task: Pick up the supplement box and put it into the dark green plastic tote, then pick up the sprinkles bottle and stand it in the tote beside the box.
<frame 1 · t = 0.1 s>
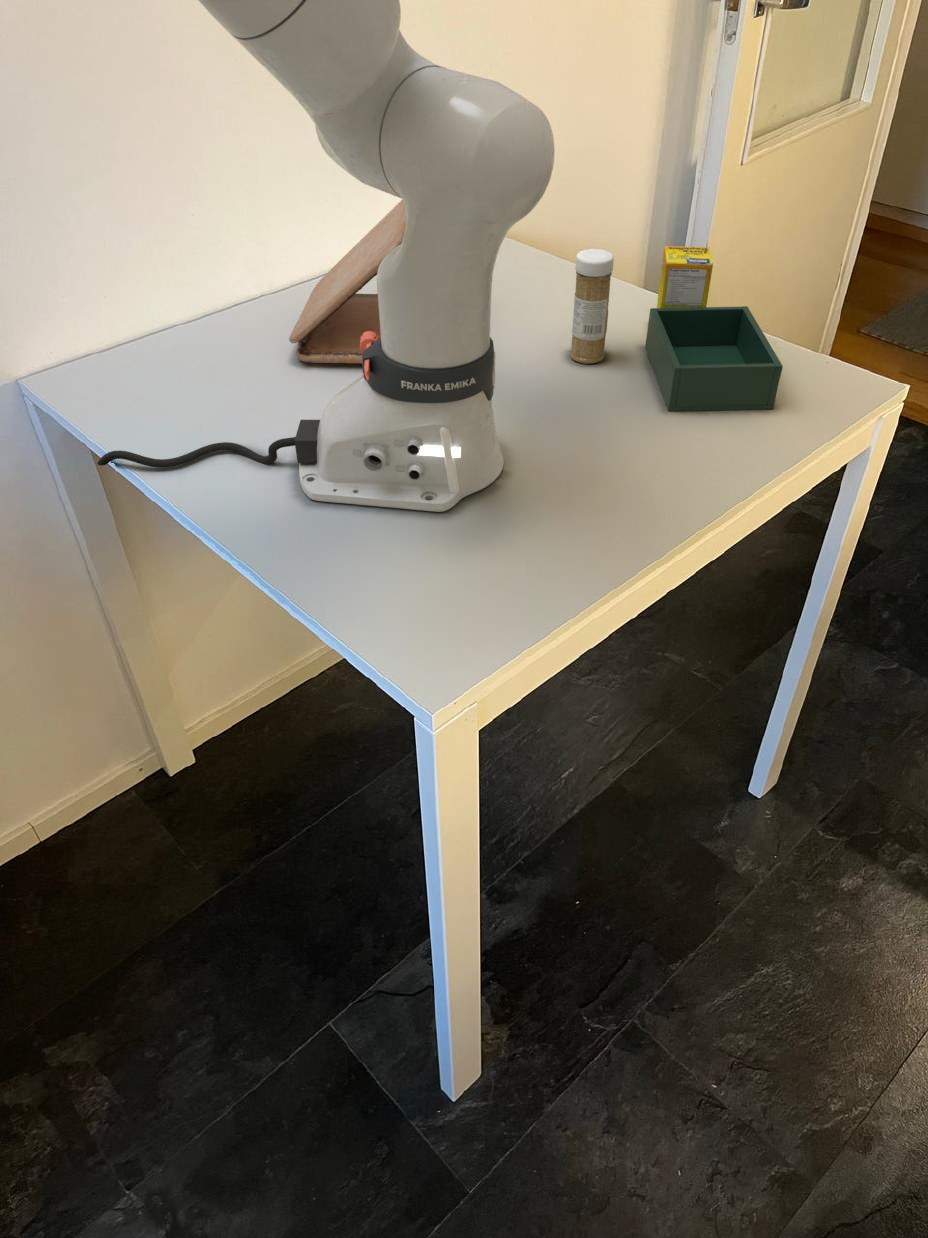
sprinkles bottle: (586, 358, 125), on the table
case: (379, 335, 131), on the table
supplement box: (676, 335, 130), on the table
tote: (705, 377, 121), on the table
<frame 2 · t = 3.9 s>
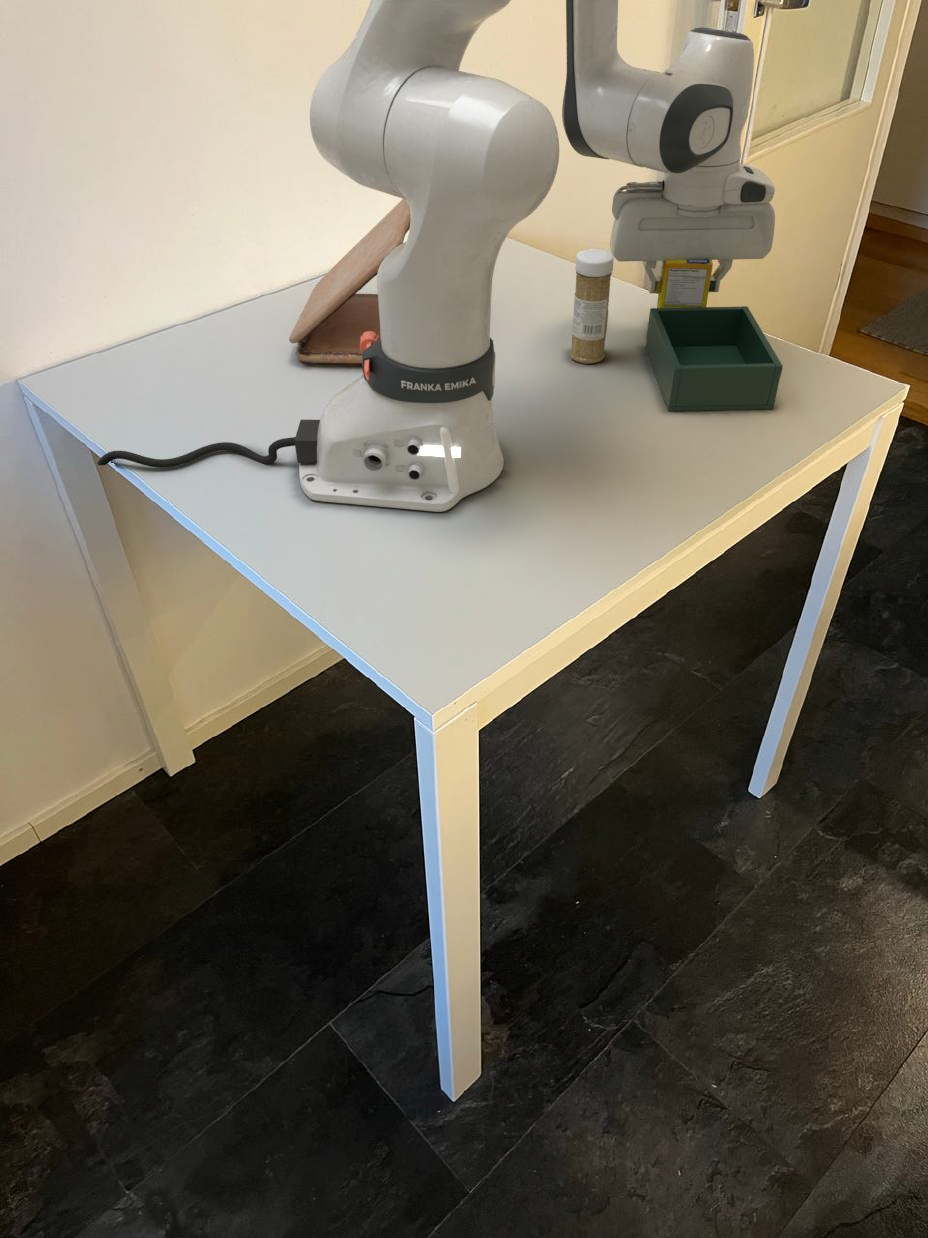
hand: (683, 291, 126), 6 cm above the table, tool pointing down, fingers closed on supplement box, 6 cm apart
supplement box: (676, 335, 130), on the table, touching gripper
everything else where it was.
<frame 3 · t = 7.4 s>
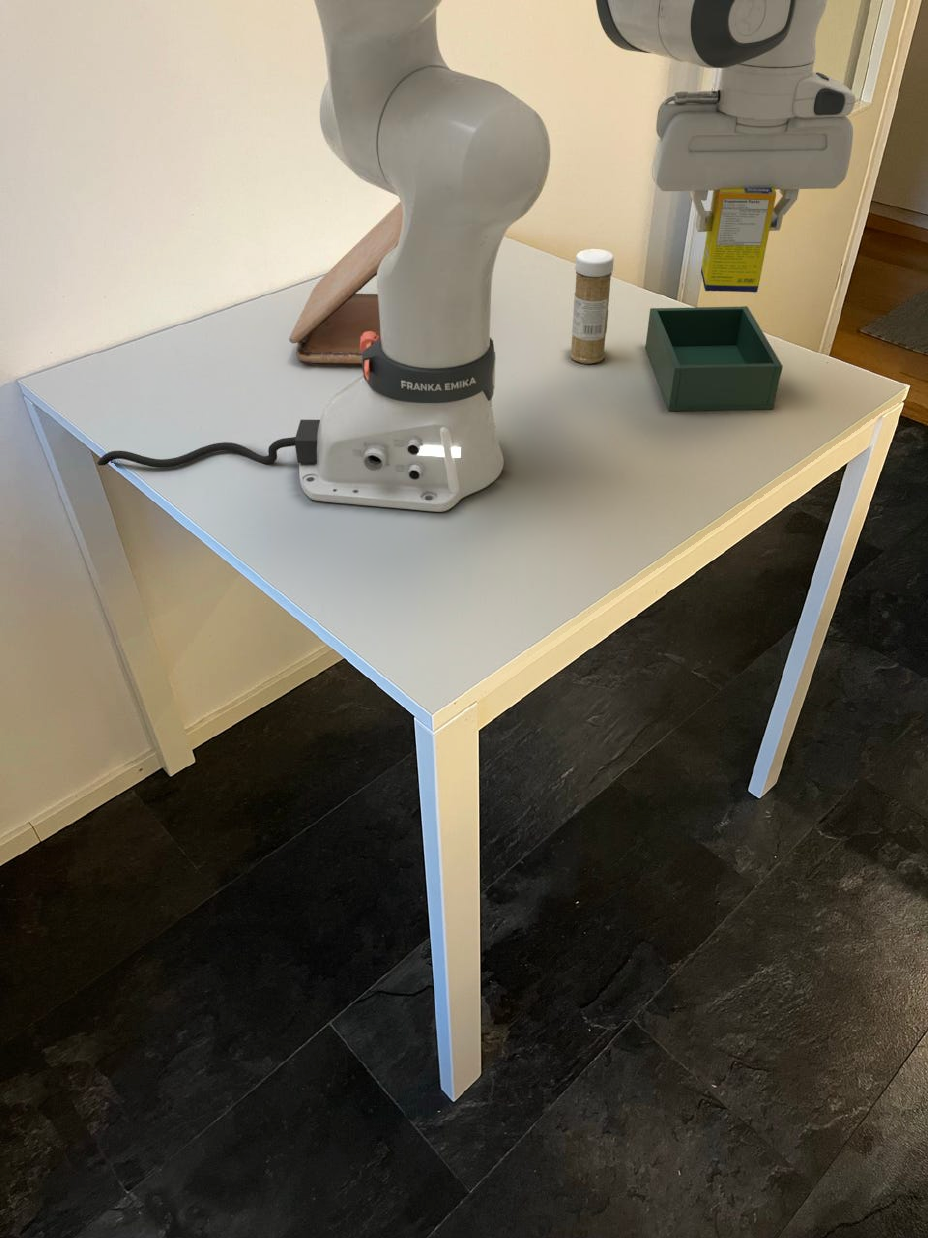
hand: (737, 229, 106), 19 cm above the table, tool pointing down, fingers closed on supplement box, 6 cm apart
supplement box: (727, 284, 110), point 13 cm above the table, touching gripper
everything else where it was.
when the fingers open (6 cm above the table, at t = 10.8 s): supplement box stays where it is, resting on tote.
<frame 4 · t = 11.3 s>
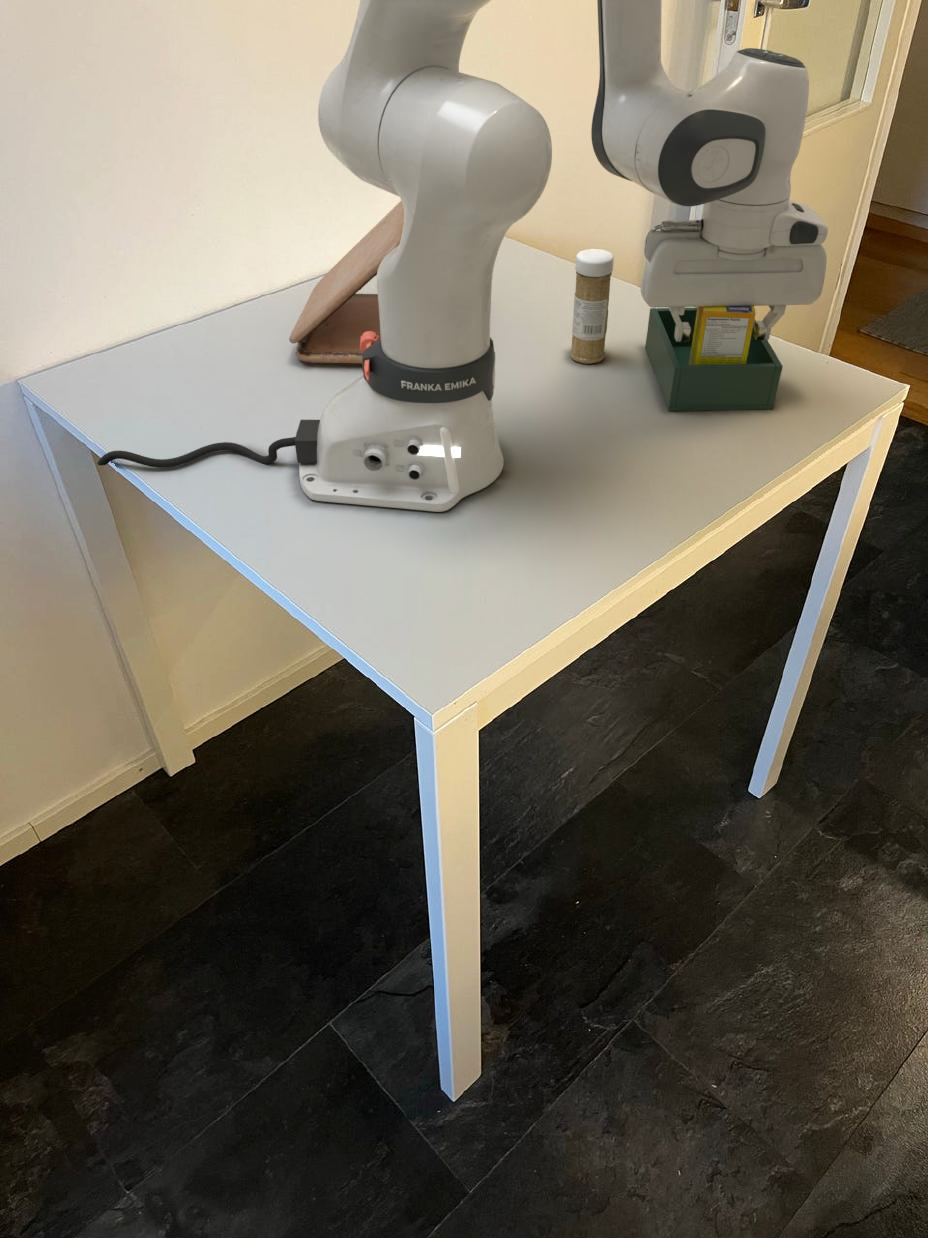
hand: (721, 338, 114), 7 cm above the table, tool pointing down, fingers open, 8 cm apart
supplement box: (712, 387, 118), resting on tote
everything else where it was.
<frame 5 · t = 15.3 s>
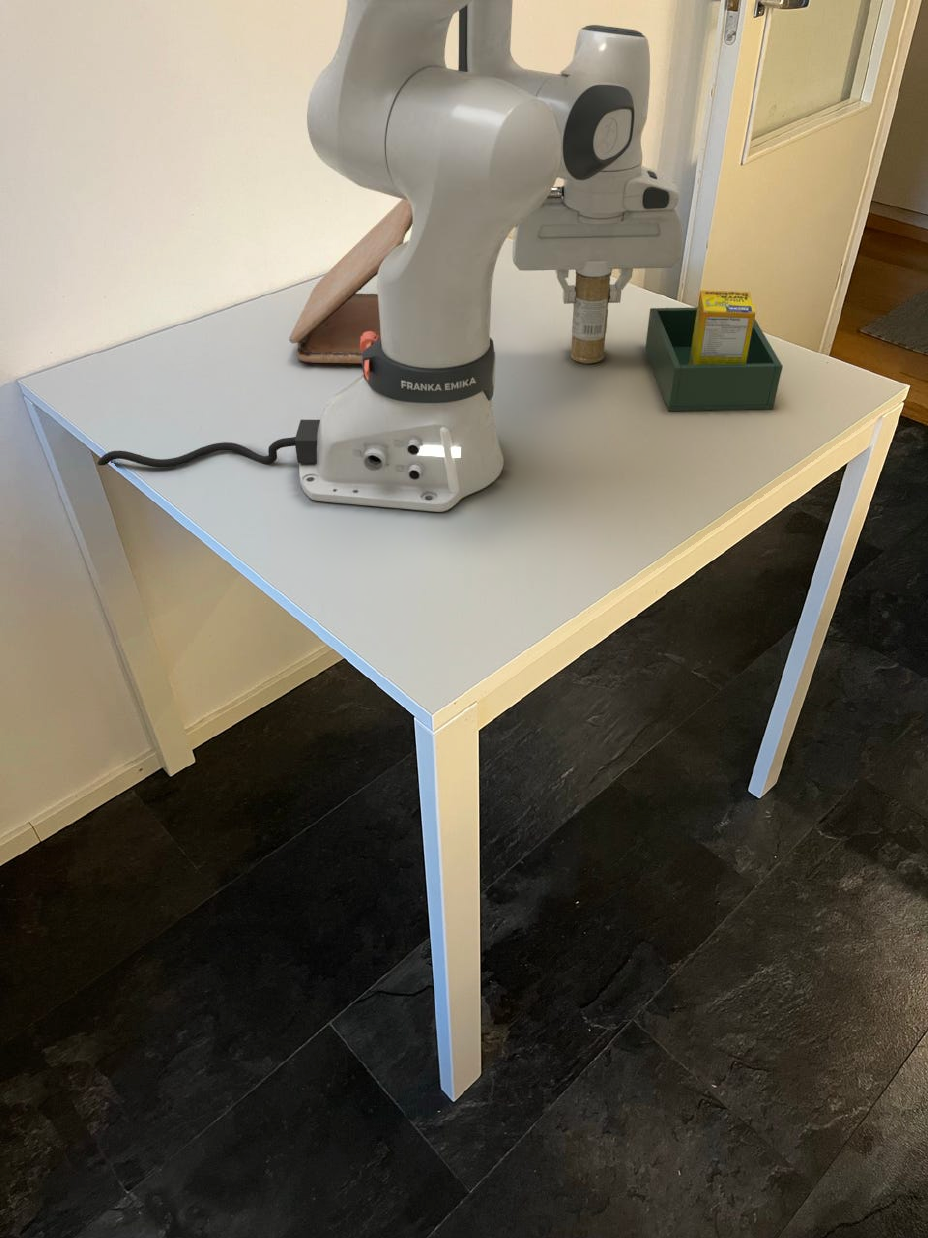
hand: (591, 301, 120), 8 cm above the table, tool pointing down, fingers closed on sprinkles bottle, 4 cm apart
sprinkles bottle: (586, 358, 125), on the table, touching gripper
everything else where it was.
when the fingers open (8 cm above the table, at t = 22.6 s): sprinkles bottle stays where it is, resting on tote.
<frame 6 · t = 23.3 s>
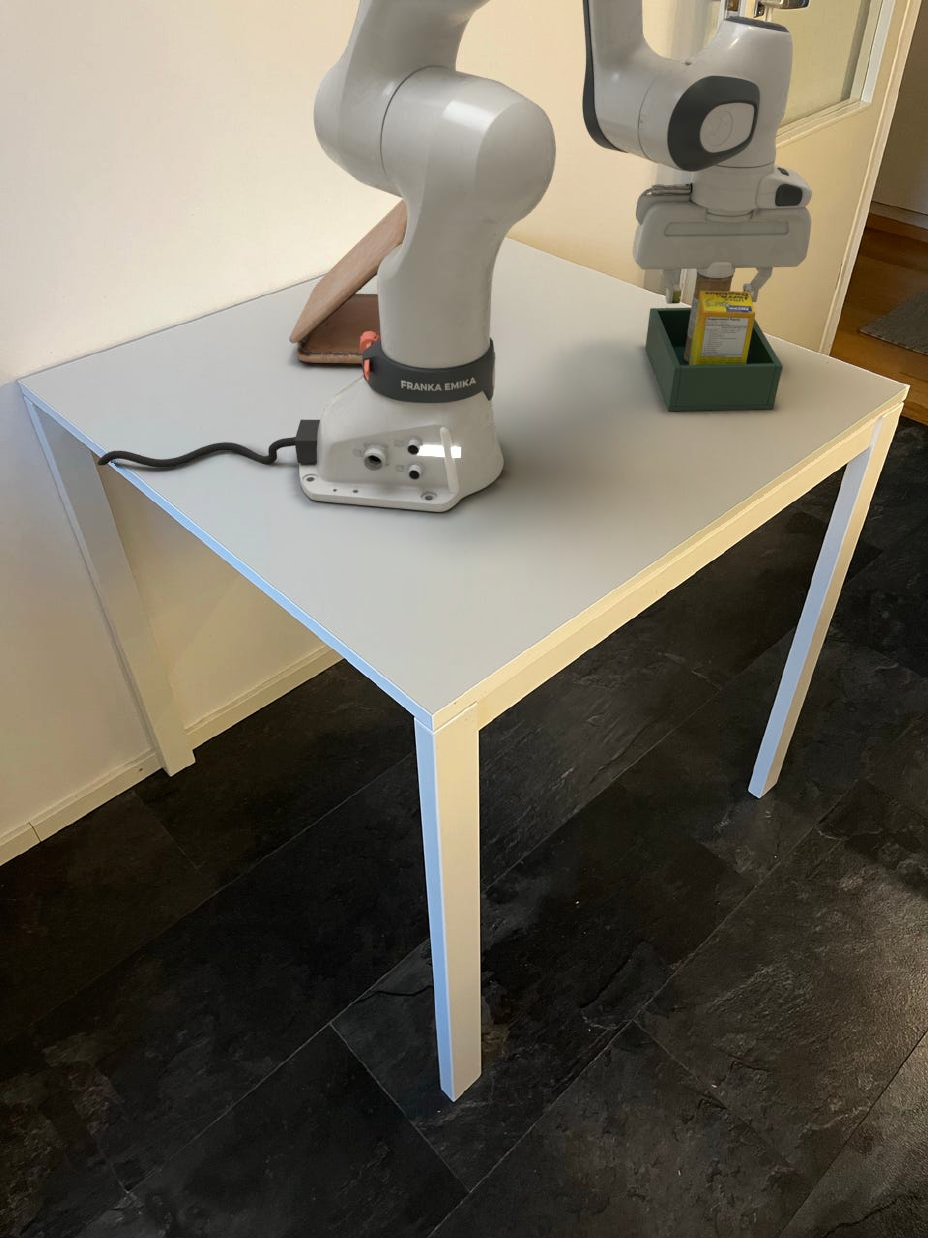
hand: (710, 301, 118), 8 cm above the table, tool pointing down, fingers open, 8 cm apart
sprinkles bottle: (700, 361, 123), resting on tote
everything else where it was.
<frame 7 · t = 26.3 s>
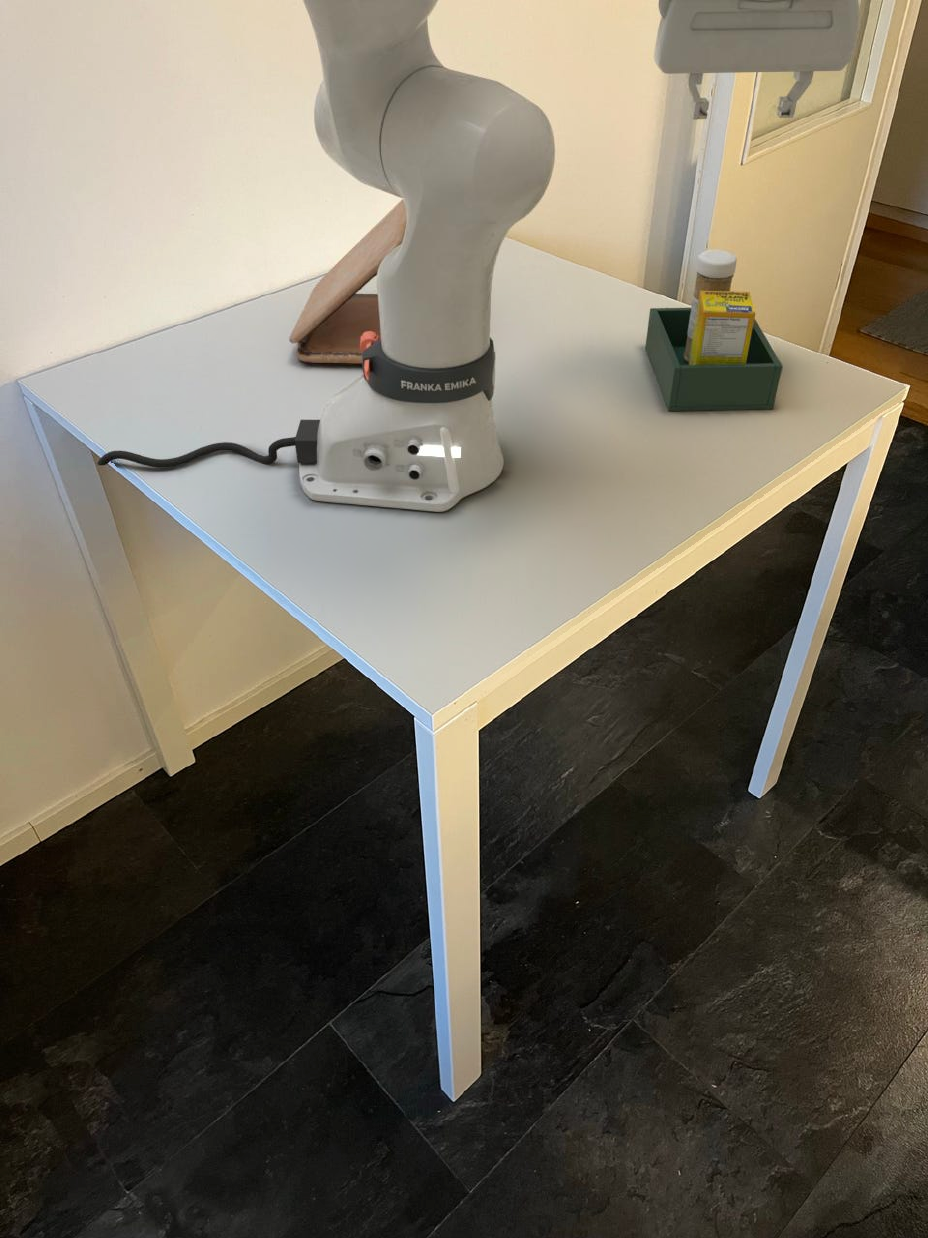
hand: (741, 117, 104), 29 cm above the table, tool pointing down, fingers open, 8 cm apart
nothing on the table moved.
at the end: supplement box inside the target area in the tote (3.4 cm from its centre), point 0.4 cm above the tote's base; sprinkles bottle inside the target area in the tote (3.6 cm from its centre), point 0.4 cm above the tote's base; sprinkles bottle tilted 0° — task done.
